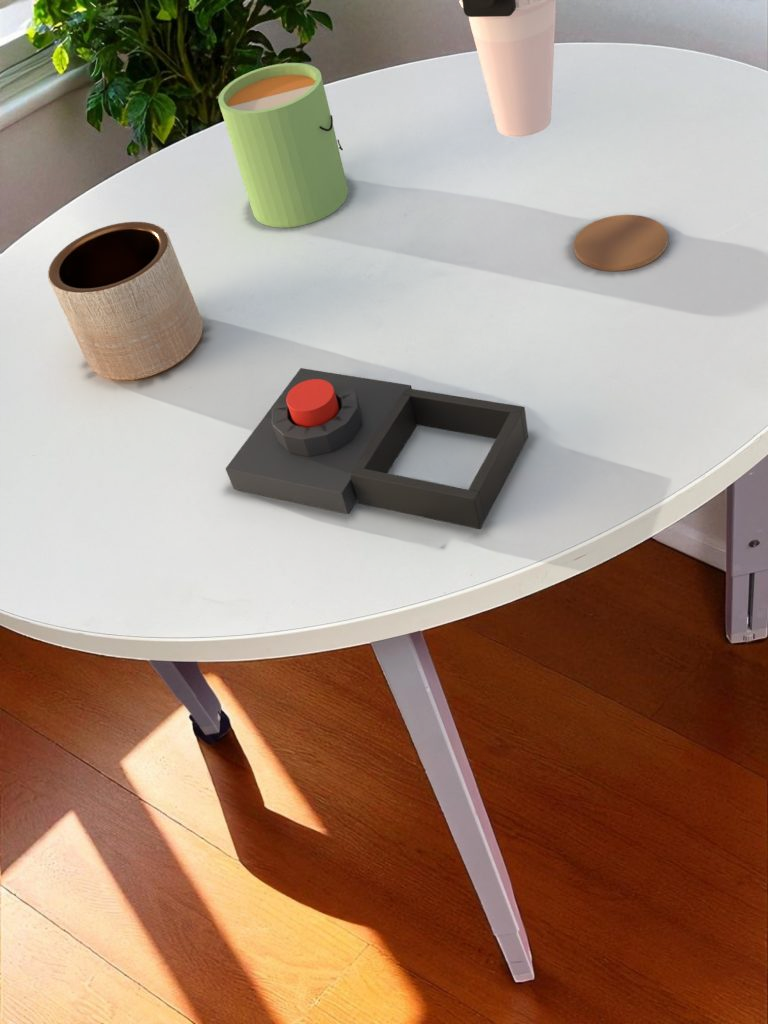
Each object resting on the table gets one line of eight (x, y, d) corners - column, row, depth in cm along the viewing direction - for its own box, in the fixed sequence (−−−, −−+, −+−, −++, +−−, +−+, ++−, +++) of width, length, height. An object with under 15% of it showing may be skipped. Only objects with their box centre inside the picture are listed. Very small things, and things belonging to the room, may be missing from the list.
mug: (358, 211, 106) (331, 95, 98) (256, 237, 106) (220, 123, 98) (342, 154, 115) (316, 43, 107) (248, 178, 115) (215, 69, 107)
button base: (416, 406, 84) (407, 366, 81) (348, 514, 77) (336, 475, 74) (307, 388, 88) (295, 350, 85) (233, 489, 81) (217, 451, 78)
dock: (529, 437, 79) (525, 406, 77) (480, 529, 73) (474, 499, 71) (412, 417, 83) (405, 387, 81) (358, 503, 78) (349, 474, 75)
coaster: (678, 223, 94) (678, 217, 94) (652, 275, 90) (652, 270, 89) (590, 216, 98) (590, 211, 97) (561, 266, 93) (561, 261, 93)
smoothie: (576, 136, 71) (560, -93, 61) (479, 154, 72) (448, -70, 62) (565, 94, 75) (549, -127, 65) (474, 110, 76) (445, -105, 66)
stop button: (347, 400, 80) (342, 382, 79) (325, 432, 78) (319, 414, 77) (306, 393, 82) (300, 375, 81) (283, 424, 80) (277, 406, 78)
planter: (66, 376, 96) (20, 287, 89) (131, 304, 102) (93, 216, 95) (164, 392, 91) (124, 299, 85) (226, 315, 98) (193, 224, 91)
